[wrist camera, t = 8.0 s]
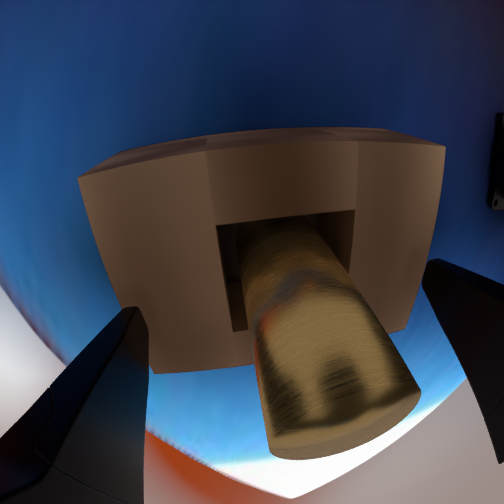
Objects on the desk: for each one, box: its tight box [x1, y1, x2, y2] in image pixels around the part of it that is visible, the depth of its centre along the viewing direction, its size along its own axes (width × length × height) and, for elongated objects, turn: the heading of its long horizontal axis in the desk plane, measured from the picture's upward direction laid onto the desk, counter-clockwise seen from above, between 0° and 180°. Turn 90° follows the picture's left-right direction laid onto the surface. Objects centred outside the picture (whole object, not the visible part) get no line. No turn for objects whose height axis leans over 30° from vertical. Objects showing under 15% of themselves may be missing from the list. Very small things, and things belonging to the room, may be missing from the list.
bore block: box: [78, 127, 446, 374], centre depth 10 cm, size 11×8×4 cm
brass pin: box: [235, 215, 421, 460], centre depth 8 cm, size 3×3×8 cm
